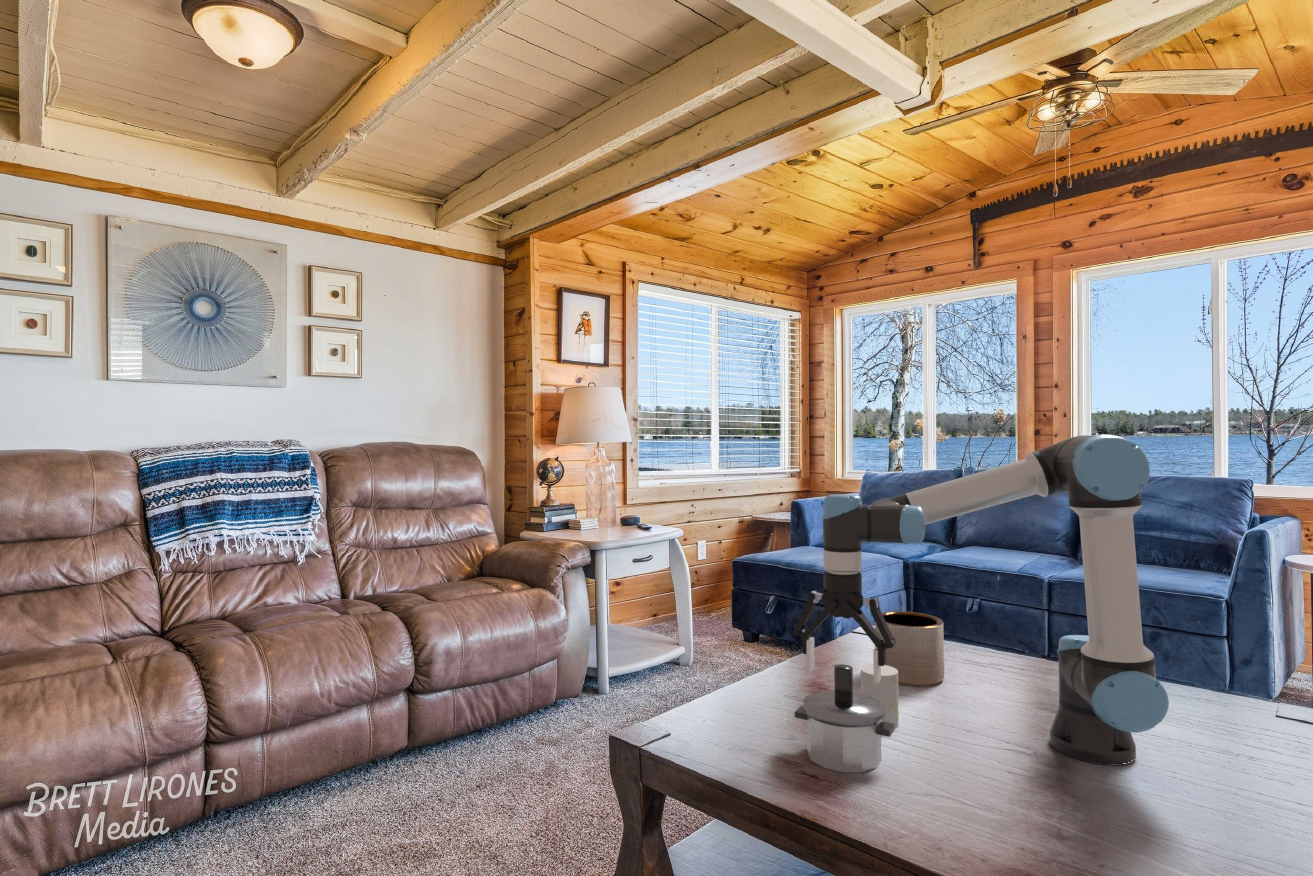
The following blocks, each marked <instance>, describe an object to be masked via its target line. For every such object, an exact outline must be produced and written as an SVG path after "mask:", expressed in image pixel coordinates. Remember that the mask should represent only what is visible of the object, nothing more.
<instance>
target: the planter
mask: <svg viewBox="0 0 1313 876" xmlns="http://www.w3.org/2000/svg"><path fill="white" fill-rule="evenodd" d="M881 613H882V615H883V617H884V619H885V621H886V623H887V625H888V627H889V629H890V631H891V633H892V635H893V637H894V639H895V642H896V644H895V645H894V646H893V647H892V648H887V649H886V663H885V665H887V666H890V667H893V668H895V669H897V670H898V685H901V686H906V687H908V686H909V687H931V686H934V685H937V684H939V683H941V682H942V681H943V680H944V678H945V650H944V649H945V648H944V647H945V644H944V643H945V641H944V639H945V638H944V621H943V620H942V619H941V618H939V617H938V616H934V615H930V614H928V613H927V614H926V613H920V612H912V611H887V612H881ZM874 628H875V630H876V631H877V632H878V633H879V635H880V636H881V637H882V635H881V633H880V631H879V629H878V627H877V625H876V623H875V622H874ZM882 639H883V637H882ZM883 640H884V639H883ZM875 648H876V646H875V645H874V649H875Z"/></svg>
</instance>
